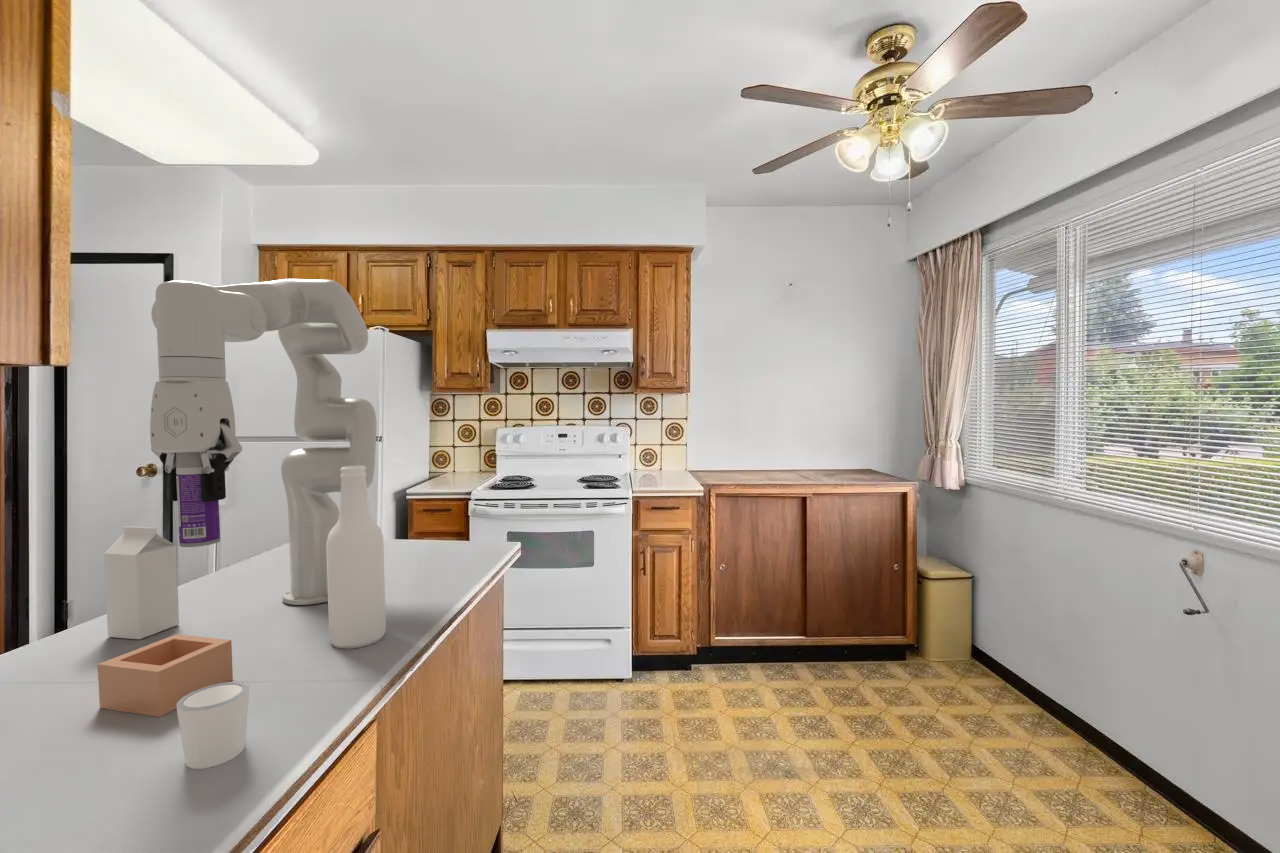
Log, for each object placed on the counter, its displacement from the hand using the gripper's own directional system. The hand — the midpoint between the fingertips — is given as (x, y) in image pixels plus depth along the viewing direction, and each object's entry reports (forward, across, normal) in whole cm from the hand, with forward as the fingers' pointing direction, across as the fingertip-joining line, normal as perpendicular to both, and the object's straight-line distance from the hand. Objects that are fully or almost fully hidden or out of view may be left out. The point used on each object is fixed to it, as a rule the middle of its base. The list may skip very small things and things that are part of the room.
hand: (198, 498), depth 83 cm
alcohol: (+28, +10, +19) cm, 35 cm away
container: (+7, 0, 0) cm, 7 cm away
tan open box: (+27, -3, -2) cm, 28 cm away
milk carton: (+28, -31, +15) cm, 44 cm away
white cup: (+28, +16, -13) cm, 35 cm away
